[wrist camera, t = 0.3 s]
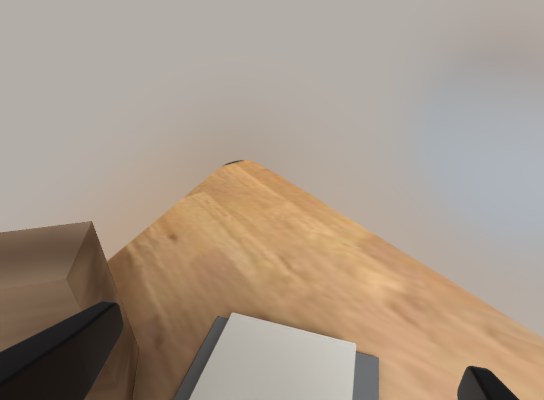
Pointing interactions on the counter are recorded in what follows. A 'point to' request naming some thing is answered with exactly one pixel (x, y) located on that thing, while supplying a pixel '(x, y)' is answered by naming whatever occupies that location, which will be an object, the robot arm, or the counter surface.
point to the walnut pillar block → (62, 294)
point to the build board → (277, 365)
